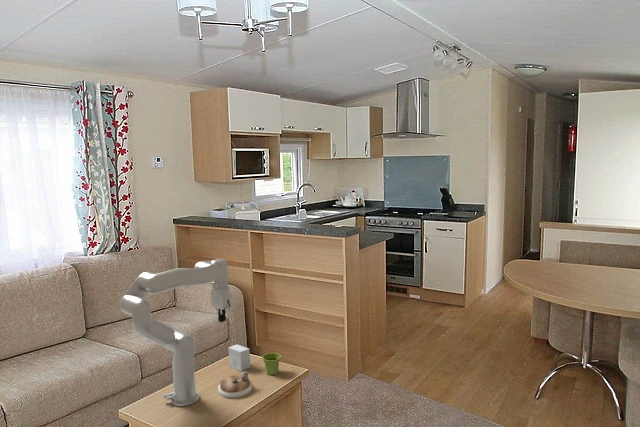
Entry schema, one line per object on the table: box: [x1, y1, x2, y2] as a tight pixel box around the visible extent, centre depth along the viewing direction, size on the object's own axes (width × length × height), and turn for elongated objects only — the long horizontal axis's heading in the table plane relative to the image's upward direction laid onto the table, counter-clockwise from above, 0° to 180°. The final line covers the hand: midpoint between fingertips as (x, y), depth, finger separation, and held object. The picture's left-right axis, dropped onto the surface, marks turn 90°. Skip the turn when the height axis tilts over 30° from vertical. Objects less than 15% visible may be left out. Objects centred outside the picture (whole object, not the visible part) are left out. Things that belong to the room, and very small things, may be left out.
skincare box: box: [228, 344, 251, 372], centre depth 247 cm, size 10×6×10 cm, turn 49°
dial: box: [219, 370, 251, 392], centre depth 222 cm, size 14×14×5 cm
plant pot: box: [261, 352, 282, 376], centre depth 239 cm, size 9×9×9 cm
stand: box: [217, 380, 253, 399], centre depth 223 cm, size 16×16×2 cm
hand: (222, 321), depth 228 cm, fingers closed
